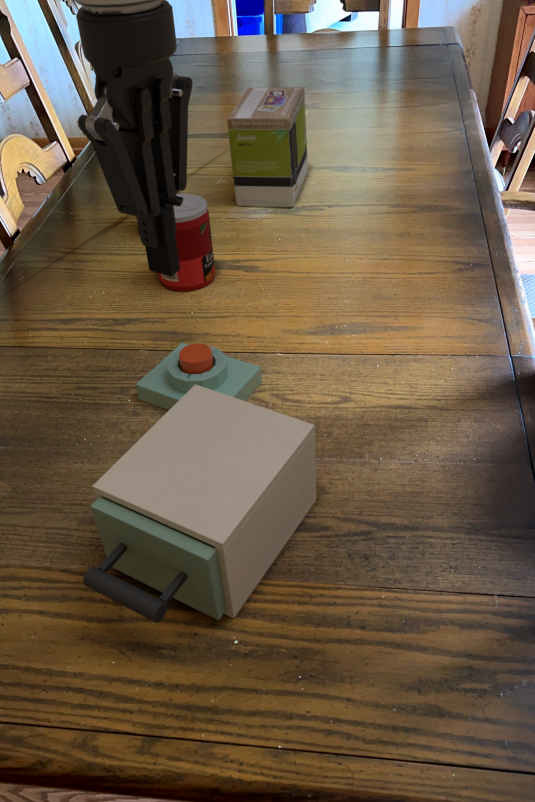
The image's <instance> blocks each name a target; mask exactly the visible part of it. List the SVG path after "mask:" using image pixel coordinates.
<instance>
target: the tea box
mask: <svg viewBox="0 0 535 802" xmlns="http://www.w3.org/2000/svg"><path fill="white" fill-rule="evenodd" d="M305 95H306V94H305V87H304V86H289V87H284V86H283V87H251V86H250V87H248V88H247V89H246V91H245V92H244V93H243V94H242V97H241V98H240V99H239V101H238V103H236V105H235V106H234V108H233V110H232V111H231V113H230V115H229V116H228V117H227V119H226V120H227V121H226V122H227V132H228V141H229V150H230V151H229V152H230V159H231V170H232V177H233V187H234V196H235V197H234V198H235V204H236V206H237V207H252V208H253V207H255V208H256V207H259V208H293V207H294V206H295V204H296V201H297V199H298V196H299V194H300V192H301V189H302V187H303V184H304V182H305V179H306V177H307V174H308V171H309V160H308V140H307V117H306V98H305Z"/></svg>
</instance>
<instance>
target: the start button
mask: <svg viewBox="0 0 535 802" xmlns="http://www.w3.org/2000/svg"><path fill="white" fill-rule="evenodd" d="M209 346H210V345H207V344H204V343H191V344H189V345H188V346H185V347H184V348H183V349H181V351H180V352H179V359H180V365H181V369H182V371H183V372H184V373H187V374H202V373H204V372H207V371H210V370H211V369H212V367H213V357H212V350H211V348H210V347H209Z"/></svg>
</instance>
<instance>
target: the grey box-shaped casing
mask: <svg viewBox="0 0 535 802" xmlns="http://www.w3.org/2000/svg"><path fill="white" fill-rule="evenodd" d="M316 464H317V463H316V425H315V424H314V423H310V422H308V421H305V420H301V419H299V418H296V417H293V416H289V415H287V414H283V413H281V412H278V411H275V410H272V409H269V408H267V407H263V406H260V405H257V404H254V403H252V402H249V401H246V400H245V401H243V400H240V399H237V398H234V397H231V396H228V395H225V394H222V393H219V392H216V391H213V390H210V389H207V388H204V387H201V386H199V385H194V386H193V387H192V388H191V389H190V390H189V391H188V392H187V393H186V394H185V395H184V396H183V397H182V398H181V399H180V400H179V401H178V402H177V403H176V404H175V405H174V406H173V407H172V408H171V409H170V410H167V412H166V413H165V414H164V415H163V416H161V418H159V420H157V421H156V422H155V423H154V424H153V425H152V426H151V428H149V429H148V430H147V431H146V432H145V433H144V434H143V435H142V436H141V437H140V438H139V439H138V440H137V441H136V442H135V443H134V444H133V445H132V446H131V447H130V448H129V449H128V450H127V451H126V452H125V453H123V455H122V456H121V457H120V458H119V459H118V460H117V461H116V462H114V464H113V465H112V466H111V467H110V468H109V469H108V470H107V471H106V472H105V473H103V474H102V475H101V477H100V478H99V479H98V480H97V481H95V483H94V484H93V485H92V490H93V494H94V497H95V501H96V500H97V499H98V498H99V497H102V498H104V499H106V500H108V501H111V502H113V503H115V504H117V505H119V506H122V505H123V506H125V507H128V508H130V509H132V510H134V511H137V512H139V513H141V514H143V515H146V516H148V517H150V518H152V519H154V520H157V521H159V522H161V523H163V524H166V525H168V526H170V527H172V528H174V529H177V530H179V531H181V532H183V533H186V534H188V535H190V536H192V537H195V538H197V539H199V540H201V541H203V542H206V543H208V544H210V545H212V546H215V549H216V550H217V556H218V562H219V568H220V574H221V580H222V586H223V592H224V598H225V605H226V611H225V612H224V614H223V615H225V616H228V617H230V618H232V619H235V618H236V616H237V615H238V613H239V612H240V611H241V609H242V608H243V606H244V605H245V604H246V602H247V601H248V600H249V598H250V596H251V595H252V593H253V592H254V591H255V589H256V588H257V586H258V585H259V583H260V582H261V581H262V579H263V578H264V576H265V574H266V573H267V571H269V568H270V567H271V566H272V564H273V563H274V562H275V560H276V558H278V556H279V554H280V553H281V552H282V550H283V548H284V547H285V546H286V544H287V543H288V541H290V539H291V537H292V535H293V534H294V533H295V531H296V530H297V528H298V527H299V525H300V524H301V523H302V521H303V520H304V518H305V517H306V515H307V514H308V512H309V511H310V510H311V508H312V506H313V505H314V504H315V503H316V501H317V470H316V469H317V467H316Z"/></svg>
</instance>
